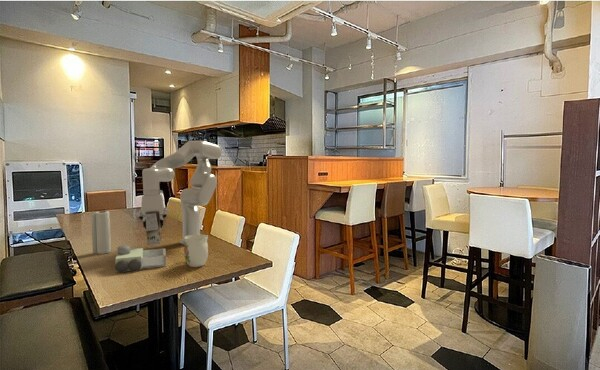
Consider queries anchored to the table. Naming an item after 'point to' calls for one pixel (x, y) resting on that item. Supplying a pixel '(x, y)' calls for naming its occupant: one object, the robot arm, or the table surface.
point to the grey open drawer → (153, 258)
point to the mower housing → (128, 259)
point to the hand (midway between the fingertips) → (153, 227)
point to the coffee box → (153, 228)
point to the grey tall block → (101, 232)
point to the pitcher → (196, 250)
